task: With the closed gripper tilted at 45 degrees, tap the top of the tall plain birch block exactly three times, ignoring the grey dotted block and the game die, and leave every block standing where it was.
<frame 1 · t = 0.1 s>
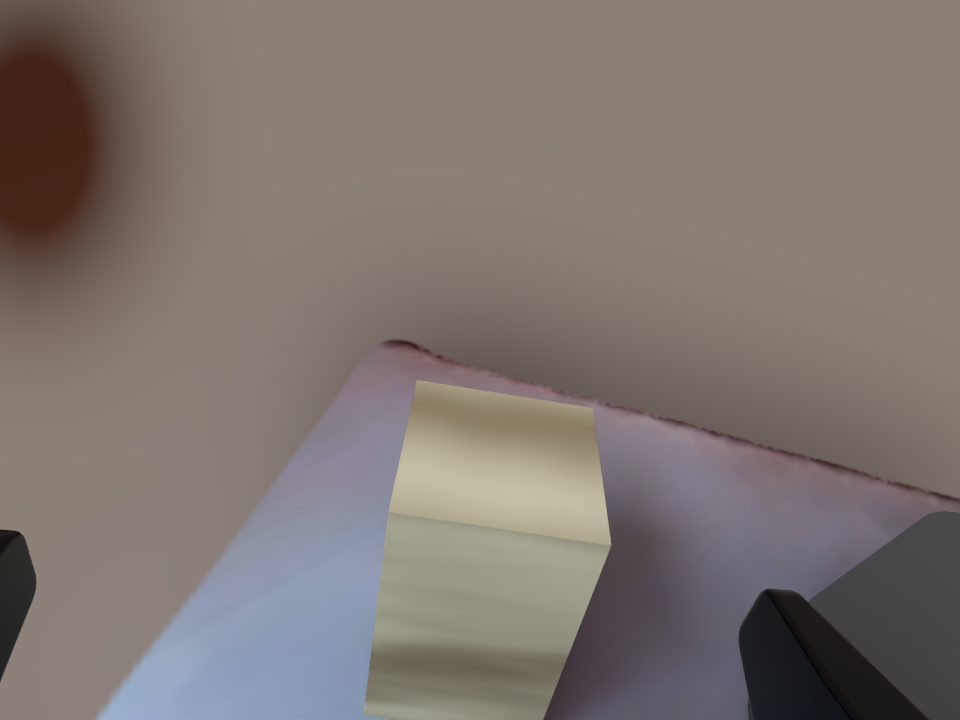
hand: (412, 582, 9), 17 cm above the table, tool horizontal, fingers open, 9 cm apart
plain birch block: (456, 648, 27), on the table
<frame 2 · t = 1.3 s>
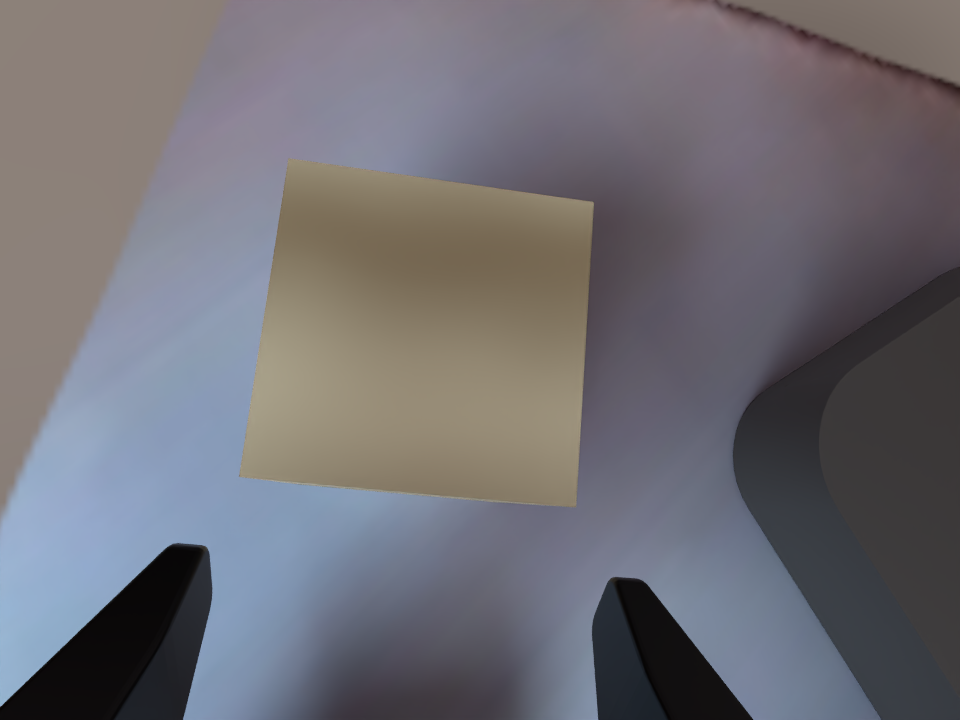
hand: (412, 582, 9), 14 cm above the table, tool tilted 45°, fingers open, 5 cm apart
plain birch block: (409, 400, 23), on the table
streaming box: (958, 504, 25), on the table
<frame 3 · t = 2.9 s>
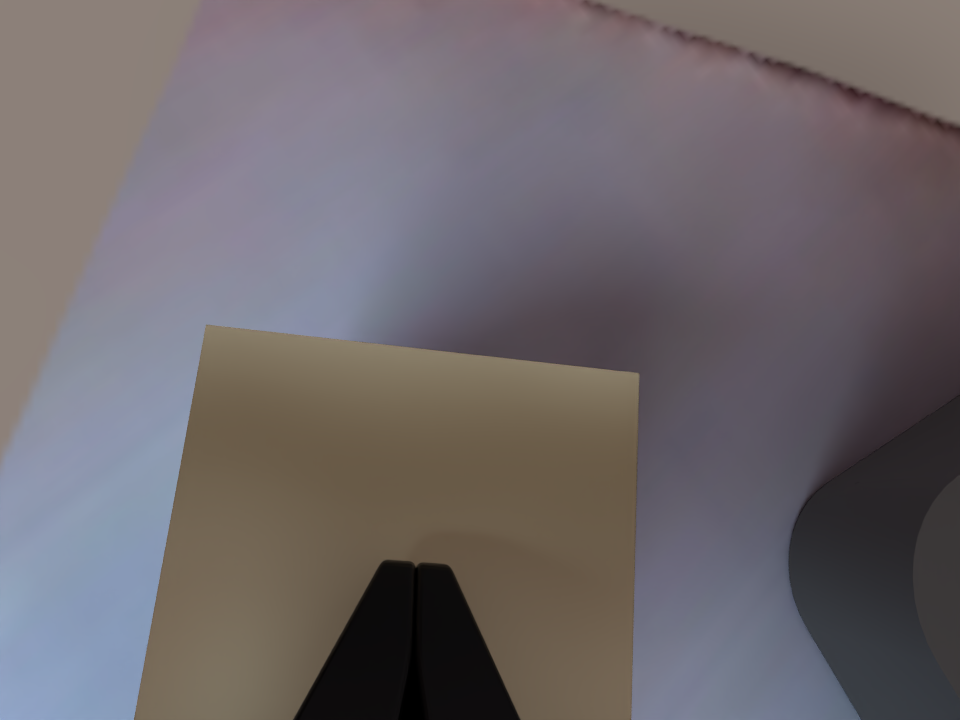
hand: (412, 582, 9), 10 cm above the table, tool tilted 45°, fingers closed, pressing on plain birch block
plain birch block: (392, 551, 19), on the table, touching gripper
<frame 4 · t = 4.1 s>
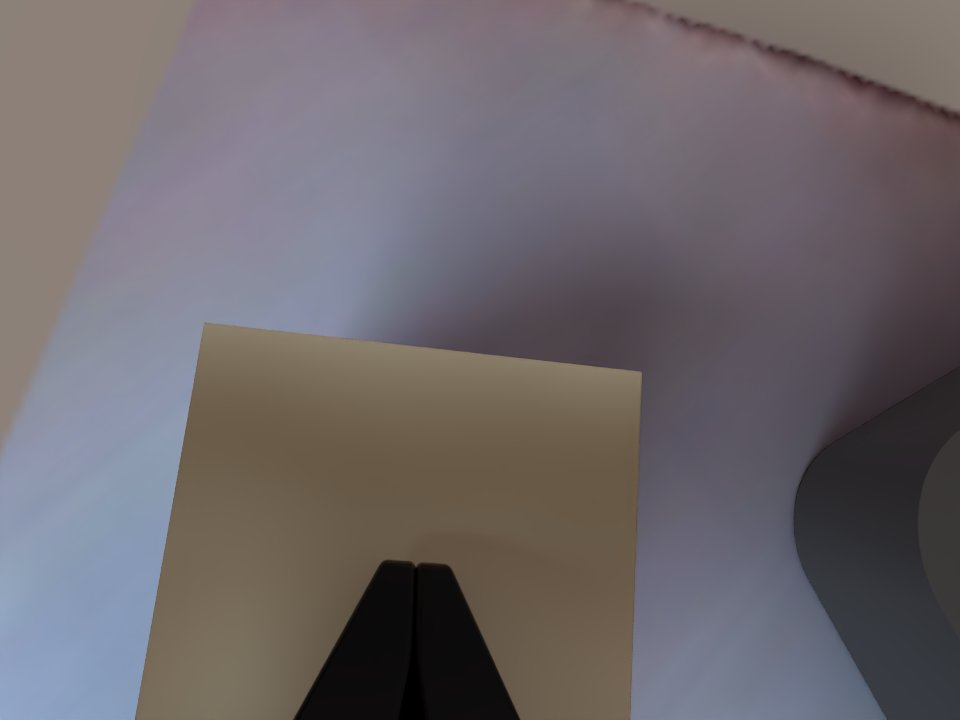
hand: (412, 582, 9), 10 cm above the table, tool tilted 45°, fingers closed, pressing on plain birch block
plain birch block: (393, 539, 19), on the table, touching gripper
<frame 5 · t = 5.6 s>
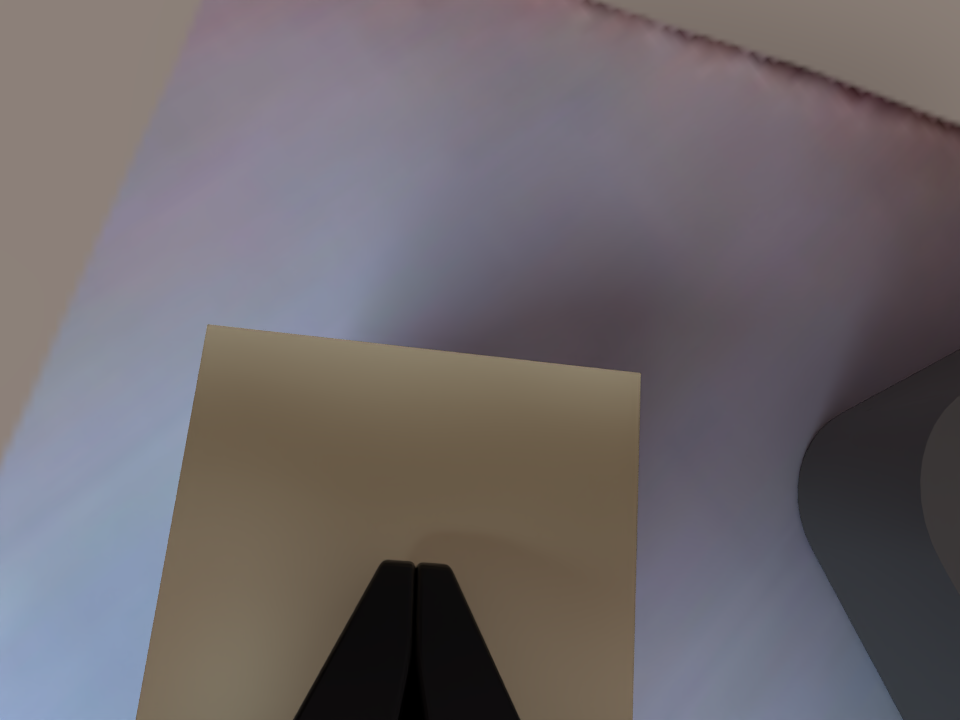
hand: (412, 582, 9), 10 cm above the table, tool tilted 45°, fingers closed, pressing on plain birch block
plain birch block: (393, 550, 19), on the table, touching gripper
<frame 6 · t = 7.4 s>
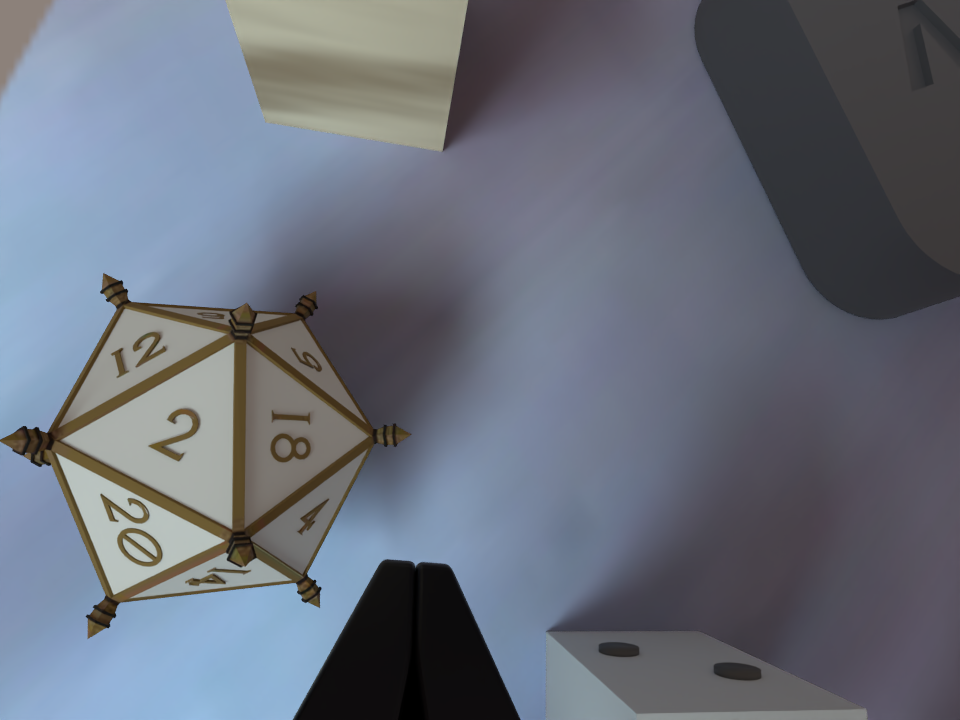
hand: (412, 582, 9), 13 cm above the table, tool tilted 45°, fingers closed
grey dotted block: (624, 716, 22), on the table
game die: (246, 453, 22), on the table
plain birch block: (367, 58, 24), on the table
streaming box: (898, 113, 27), on the table
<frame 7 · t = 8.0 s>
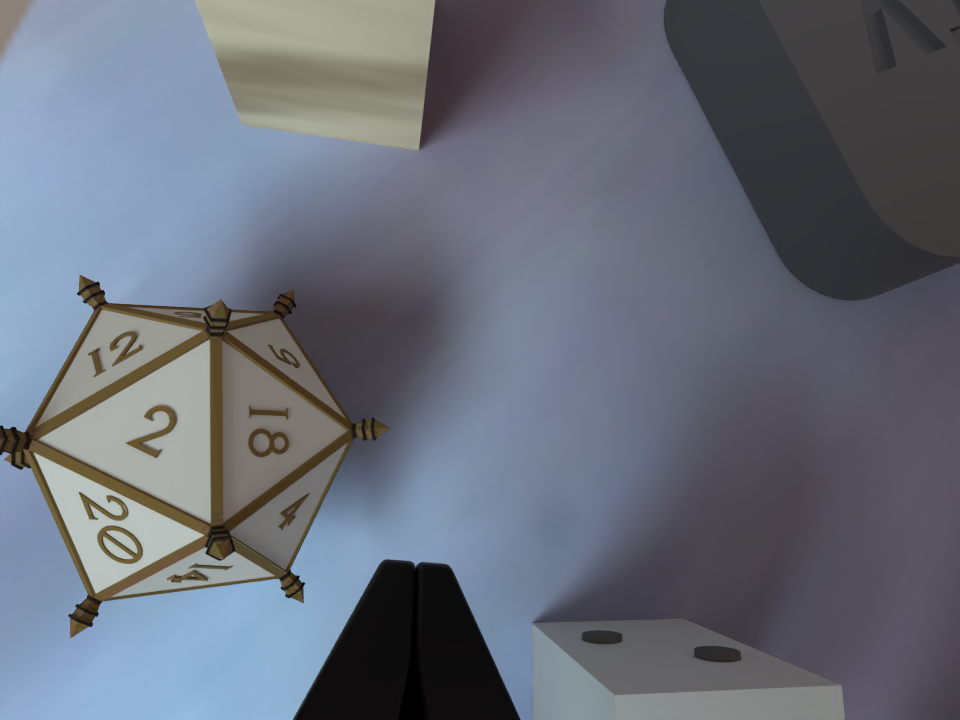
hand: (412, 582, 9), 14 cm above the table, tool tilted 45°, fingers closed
grey dotted block: (611, 704, 22), on the table
game die: (229, 452, 22), on the table
plain birch block: (342, 60, 25), on the table
streaming box: (866, 97, 28), on the table
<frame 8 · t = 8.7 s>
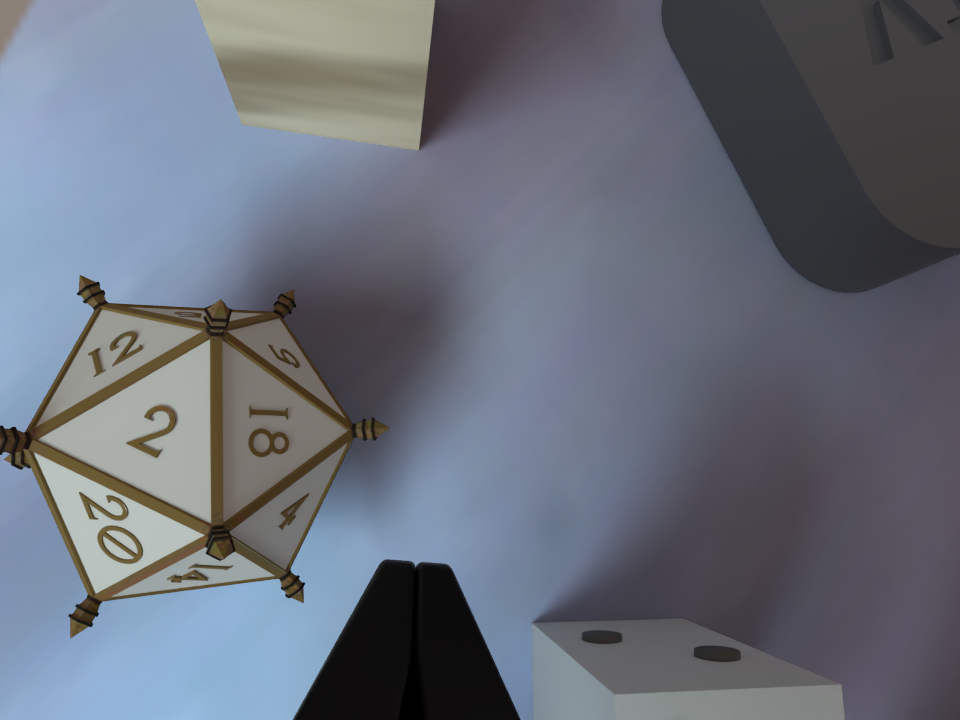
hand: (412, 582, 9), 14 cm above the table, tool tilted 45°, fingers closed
grey dotted block: (611, 704, 22), on the table
game die: (229, 452, 22), on the table
plain birch block: (342, 60, 25), on the table
streaming box: (864, 90, 28), on the table
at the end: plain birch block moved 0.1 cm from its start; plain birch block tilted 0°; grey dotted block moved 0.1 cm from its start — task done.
